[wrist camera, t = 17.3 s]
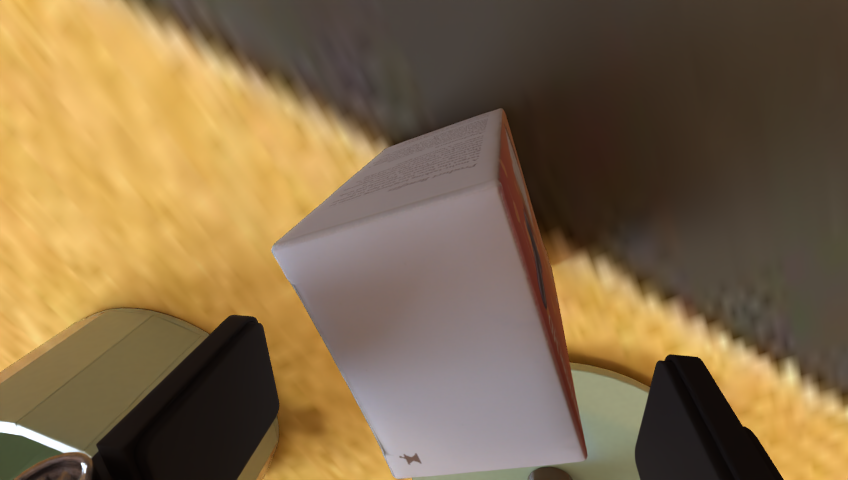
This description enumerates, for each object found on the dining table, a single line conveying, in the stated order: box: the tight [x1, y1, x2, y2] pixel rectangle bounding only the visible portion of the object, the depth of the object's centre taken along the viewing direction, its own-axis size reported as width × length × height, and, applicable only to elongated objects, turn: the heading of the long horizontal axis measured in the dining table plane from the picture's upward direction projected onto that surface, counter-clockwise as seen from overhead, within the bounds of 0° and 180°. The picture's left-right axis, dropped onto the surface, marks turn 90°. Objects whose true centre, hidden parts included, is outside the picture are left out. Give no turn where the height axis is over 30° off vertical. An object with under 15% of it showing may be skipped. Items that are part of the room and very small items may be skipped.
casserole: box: [0, 308, 279, 480], centre depth 25 cm, size 16×21×8 cm
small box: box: [272, 108, 588, 479], centre depth 15 cm, size 8×6×10 cm
